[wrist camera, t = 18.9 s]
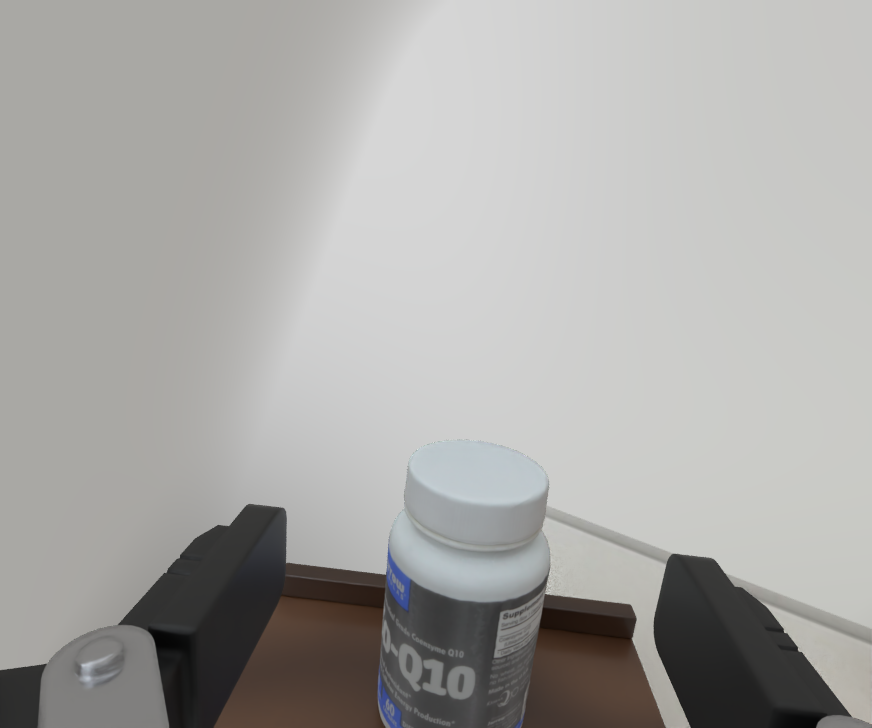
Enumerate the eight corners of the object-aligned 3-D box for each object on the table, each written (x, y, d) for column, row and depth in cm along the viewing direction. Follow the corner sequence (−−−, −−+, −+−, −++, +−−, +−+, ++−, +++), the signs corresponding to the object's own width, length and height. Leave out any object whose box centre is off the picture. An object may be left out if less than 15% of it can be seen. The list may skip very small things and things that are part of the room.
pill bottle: (345, 703, 17) (357, 460, 14) (441, 626, 20) (462, 421, 18) (463, 817, 14) (501, 533, 11) (551, 703, 17) (592, 470, 15)
